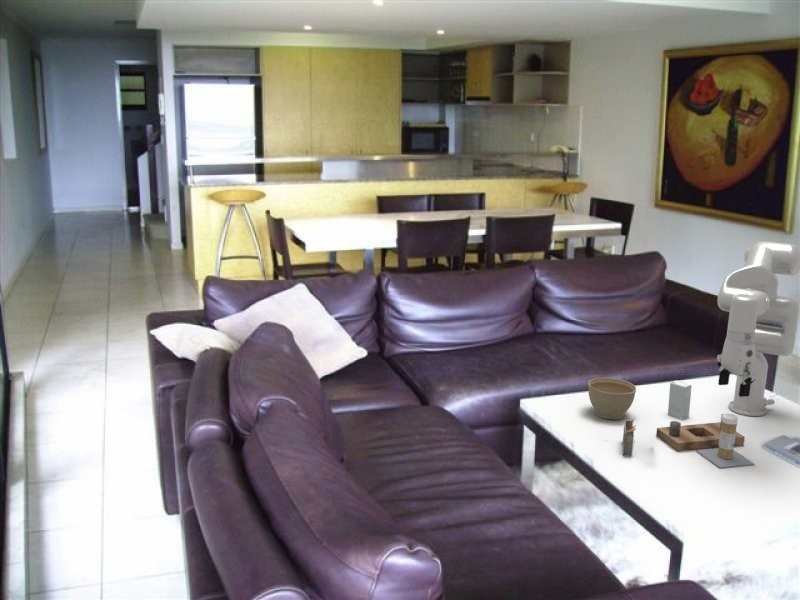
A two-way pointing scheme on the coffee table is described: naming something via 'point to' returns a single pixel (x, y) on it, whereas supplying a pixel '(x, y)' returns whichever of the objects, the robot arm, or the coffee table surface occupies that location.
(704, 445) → the wooden peg board
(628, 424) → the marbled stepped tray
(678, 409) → the skincare box
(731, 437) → the sprinkles bottle
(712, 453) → the pad
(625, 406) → the planter bowl
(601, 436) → the coffee table surface
